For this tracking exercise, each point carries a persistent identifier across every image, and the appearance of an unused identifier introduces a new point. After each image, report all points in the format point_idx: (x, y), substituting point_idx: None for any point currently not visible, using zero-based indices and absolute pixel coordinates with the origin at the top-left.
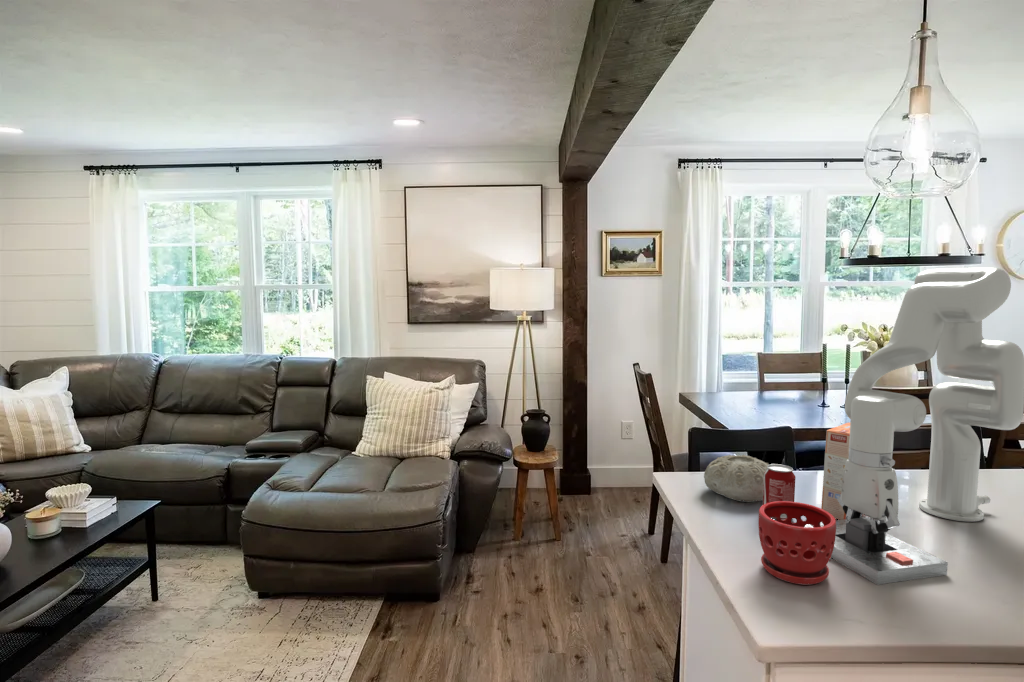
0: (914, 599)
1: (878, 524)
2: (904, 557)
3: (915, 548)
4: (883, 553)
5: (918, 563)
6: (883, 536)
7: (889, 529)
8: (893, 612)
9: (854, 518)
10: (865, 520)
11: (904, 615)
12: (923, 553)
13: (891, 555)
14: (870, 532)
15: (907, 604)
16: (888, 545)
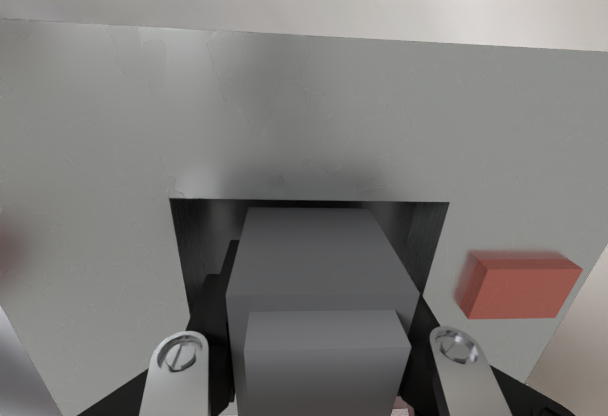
0: (586, 333)
1: (400, 367)
2: (544, 285)
3: (497, 71)
4: (437, 298)
5: (589, 239)
6: (438, 325)
7: (532, 392)
8: (571, 405)
9: (216, 407)
10: (306, 406)
11: (594, 396)
12: (563, 93)
13: (495, 317)
14: (398, 393)
15: (581, 363)
16: (382, 200)
